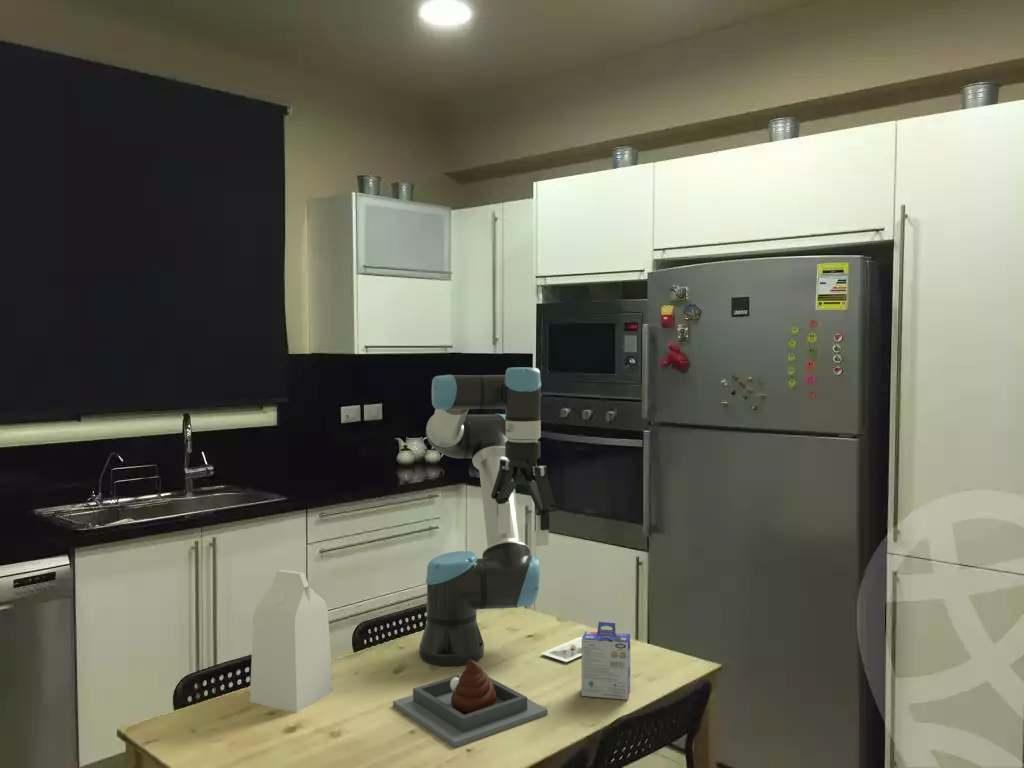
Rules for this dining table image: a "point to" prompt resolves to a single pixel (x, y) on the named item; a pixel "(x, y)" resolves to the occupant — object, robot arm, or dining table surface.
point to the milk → (290, 645)
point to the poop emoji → (472, 689)
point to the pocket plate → (458, 728)
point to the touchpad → (566, 650)
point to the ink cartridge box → (606, 663)
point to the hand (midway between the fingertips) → (522, 538)
